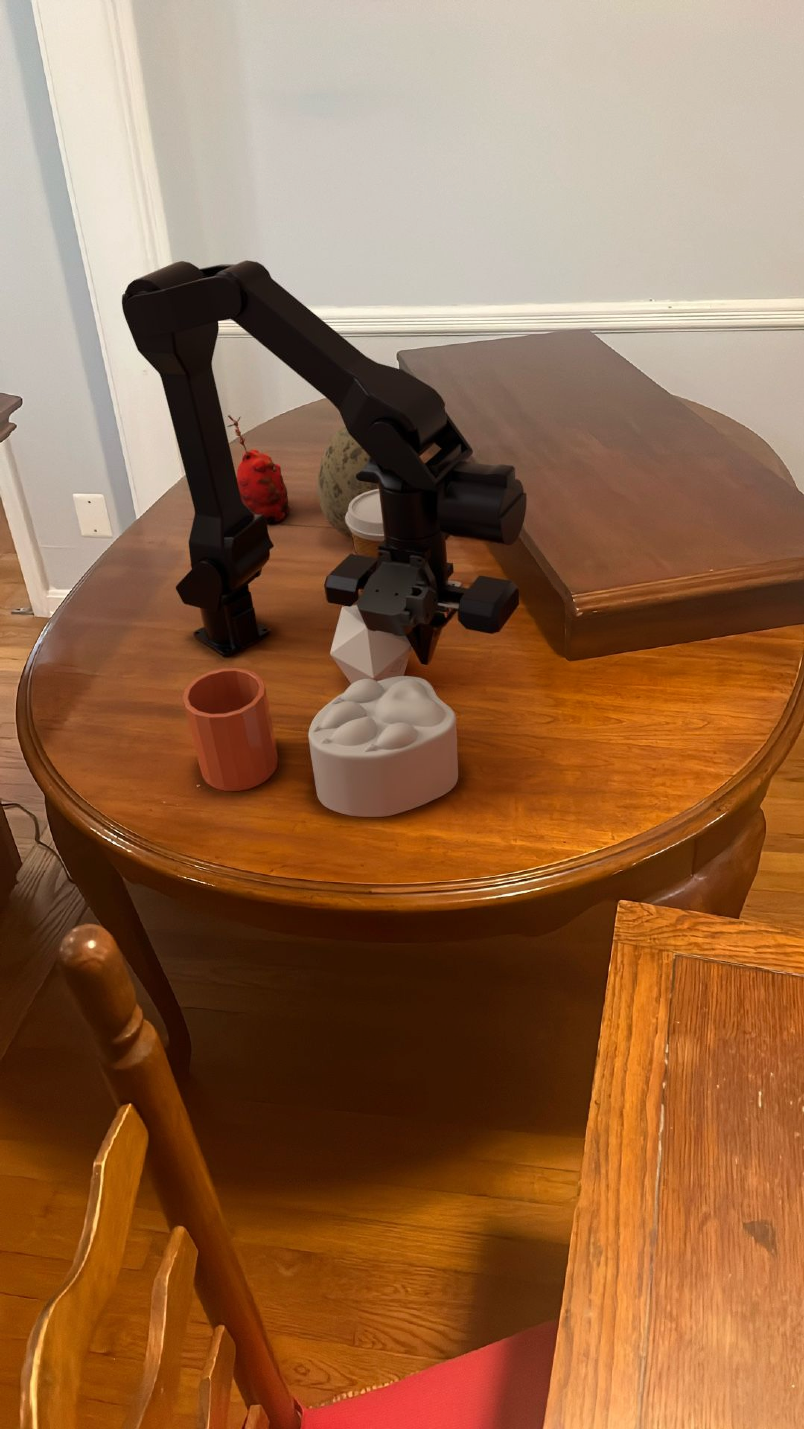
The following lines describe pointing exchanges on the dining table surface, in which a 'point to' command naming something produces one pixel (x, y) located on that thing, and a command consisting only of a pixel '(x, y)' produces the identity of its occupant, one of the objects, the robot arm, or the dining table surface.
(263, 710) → the terracotta cup
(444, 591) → the robot arm
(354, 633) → the die
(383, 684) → the lumpy-topped squat cylinder
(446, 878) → the dining table surface
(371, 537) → the disposable coffee cup
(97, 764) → the dining table surface
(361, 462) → the decorative egg
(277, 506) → the red bumpy tall lump
